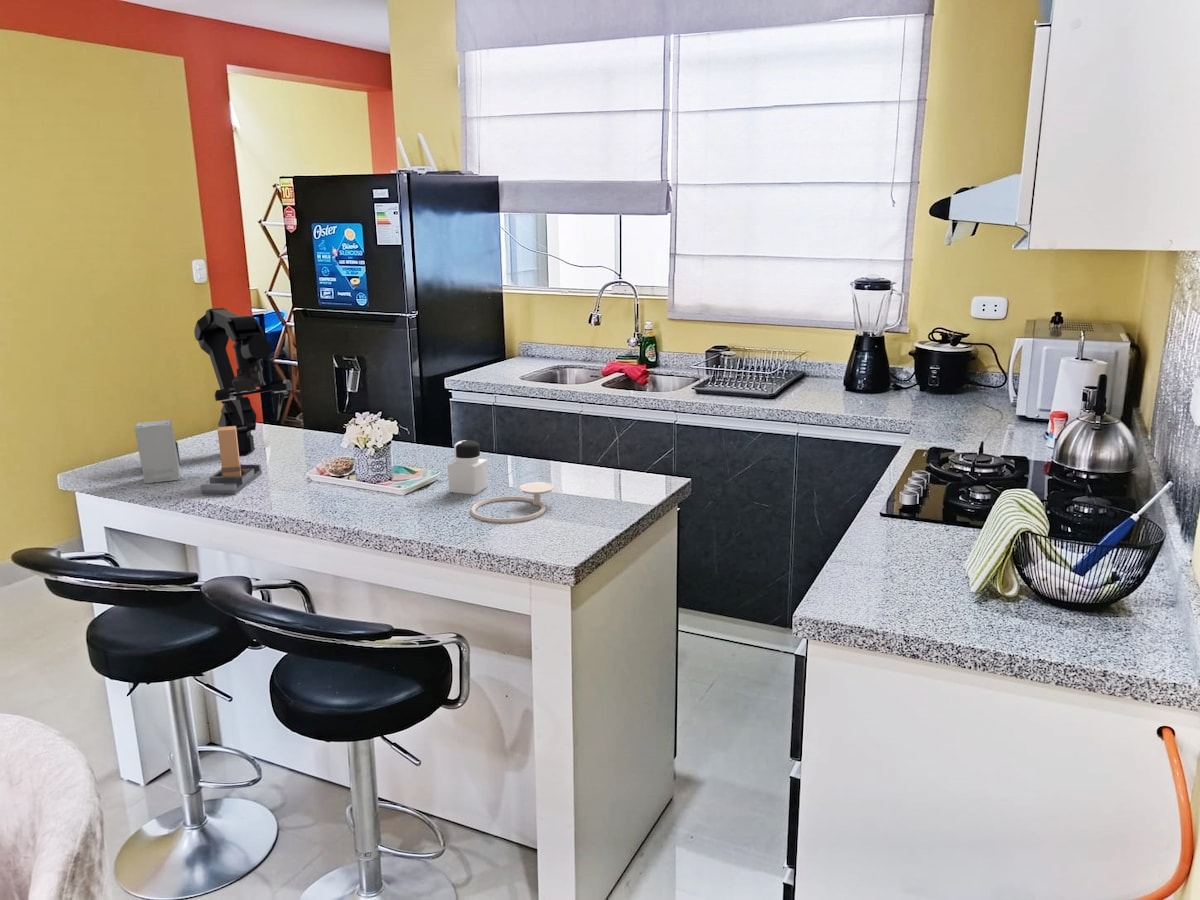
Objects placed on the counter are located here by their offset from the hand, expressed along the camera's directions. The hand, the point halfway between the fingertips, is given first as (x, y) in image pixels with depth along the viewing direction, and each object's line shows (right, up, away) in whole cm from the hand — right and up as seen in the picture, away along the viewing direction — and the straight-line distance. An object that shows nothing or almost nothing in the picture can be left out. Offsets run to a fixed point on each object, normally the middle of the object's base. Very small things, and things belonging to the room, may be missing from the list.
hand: (260, 422), depth 240 cm
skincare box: (-22, -15, -9) cm, 28 cm away
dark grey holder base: (-2, -16, -13) cm, 20 cm away
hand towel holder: (+70, -21, -33) cm, 80 cm away
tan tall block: (-2, -14, -13) cm, 20 cm away
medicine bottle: (+58, -17, -18) cm, 63 cm away
